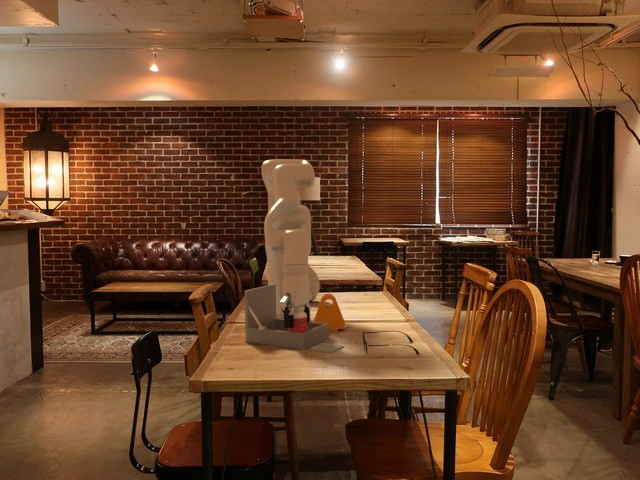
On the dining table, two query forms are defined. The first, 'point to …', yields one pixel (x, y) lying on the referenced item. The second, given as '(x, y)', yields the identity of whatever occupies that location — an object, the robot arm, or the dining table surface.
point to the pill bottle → (299, 320)
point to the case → (276, 322)
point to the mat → (327, 347)
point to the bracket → (330, 314)
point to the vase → (313, 283)
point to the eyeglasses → (387, 345)
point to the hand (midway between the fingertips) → (297, 324)
